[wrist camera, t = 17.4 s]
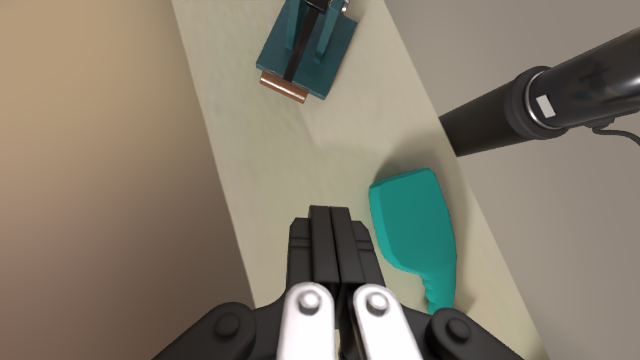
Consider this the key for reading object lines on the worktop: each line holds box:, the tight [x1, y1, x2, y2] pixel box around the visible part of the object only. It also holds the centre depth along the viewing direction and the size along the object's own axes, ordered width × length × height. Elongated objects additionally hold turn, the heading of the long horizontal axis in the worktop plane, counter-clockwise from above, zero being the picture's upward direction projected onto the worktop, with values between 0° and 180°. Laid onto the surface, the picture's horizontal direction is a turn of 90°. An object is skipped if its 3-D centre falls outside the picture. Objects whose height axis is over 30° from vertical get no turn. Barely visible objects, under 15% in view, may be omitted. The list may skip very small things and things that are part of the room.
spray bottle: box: [369, 168, 457, 314], centre depth 38 cm, size 3×11×24 cm
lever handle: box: [260, 0, 331, 104], centre depth 30 cm, size 12×6×2 cm, turn 158°
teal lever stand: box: [256, 0, 357, 100], centre depth 33 cm, size 12×10×12 cm
